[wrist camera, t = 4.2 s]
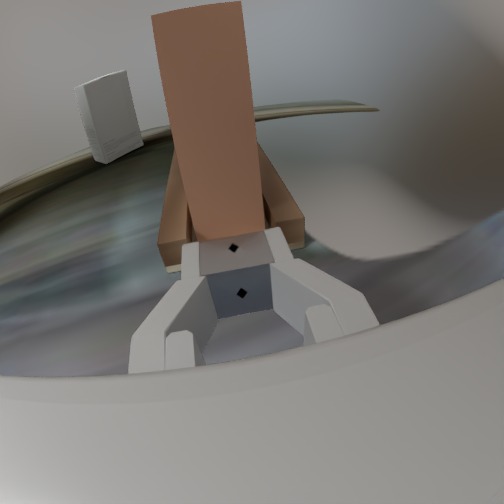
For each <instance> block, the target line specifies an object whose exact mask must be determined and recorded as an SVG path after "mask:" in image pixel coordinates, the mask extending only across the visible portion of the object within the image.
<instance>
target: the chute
mask: <svg viewBox="0 0 504 504" xmlns="http://www.w3.org/2000/svg"><path fill="white" fill-rule="evenodd" d="M257 147H258V157H259V167H260V177H261V188H262V198H263V209H264V220H265V229H270V228H275V227H280V228H281V230H282V232H283V234H284V237H285V239H286V241H287V243H288V246H289V248H290V250H294V249H300V248H304V239H305V219H304V218H305V217H304V216H303V214H302V212H301V211H300V209H299V207H298V206H297V204H296V202H295V201H294V199H293V197H292V196H291V194H290V192H289V191H288V189H287V188H286V186H285V184H284V183H283V181H282V180H281V178H280V176H279V175H278V173H277V172H276V170H275V168H274V167H273V165H272V164H271V162H270V161H269V159H268V157H267V156H266V155H265V153H264V151H263V150H262V149H261V147H260V145H259V144H258V142H257ZM192 242H197V238H196V234H195V230H194V226H193V222H192V218H191V214H190V210H189V206H188V202H187V198H186V194H185V190H184V185H183V181H182V177H181V172H180V168H179V164H178V159H177V155H176V150H175V149H174V154H173V158H172V163H171V168H170V173H169V178H168V183H167V188H166V194H165V199H164V205H163V211H162V217H161V223H160V229H159V236H158V242H157V245H158V248H159V251H160V254H161V256H162V259H163V262H164V265H165V267H166V270H167V273H171V272H177V271H181V261H182V246H183V244H187V243H192Z"/></svg>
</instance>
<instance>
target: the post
mask: <svg viewBox="0 0 504 504" xmlns="http://www.w3.org/2000/svg"><path fill="white" fill-rule="evenodd" d="M151 19H152V26H153V32H154V39H155V45H156V51H157V57H158V63H159V69H160V75H161V80H162V86H163V91H164V96H165V101H166V107H167V112H168V117H169V121H170V126H171V131H172V136H173V141H174V145H175V150H176V155H177V159H178V164H179V168H180V172H181V177H182V181H183V185H184V190H185V194H186V198H187V202H188V206H189V210H190V214H191V218H192V222H193V226H194V230H195V234H196V238H197V242H199V241H204V240H210V239H216V238H222V237H228V236H236V235H241V234H246V233H252V232H257V231H262V230H265V220H264V209H263V198H262V188H261V177H260V167H259V157H258V147H257V138H256V128H255V118H254V109H253V100H252V91H251V81H250V73H249V64H248V55H247V46H246V38H245V30H244V22H243V13H242V5H241V1H235V2H225V3H216V4H209V5H202V6H196V7H189V8H184V9H178V10H174V11H169V12H165V13H160V14H156V15H152V16H151Z"/></svg>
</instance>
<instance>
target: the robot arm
mask: <svg viewBox="0 0 504 504" xmlns="http://www.w3.org/2000/svg"><path fill="white" fill-rule="evenodd" d="M270 309H273V310H274V311H275V312H276V313H277V314H278V315H279V316H281V317H282V318H283V319H284V320H285V321H286V322H288V323H289V324H290V325H291V326H292V327H293V328H295V329H296V330H297V331H298V332H299V333H300V334H301V335H303V336H304V339H303V346H302V347H298V348H293V349H289V350H284V351H280V352H275V353H270V354H265V355H260V356H255V357H250V358H245V359H239V360H233V361H227V362H221V363H215V364H209V365H206V363H205V361H204V358H203V356H202V353H203V351H204V349H205V347H206V345H207V343H208V341H209V339H210V337H211V335H212V333H213V331H214V329H215V327H216V325H217V323H218V321H219V320H218V319H222V318H227V317H232V316H237V315H242V314H247V313H253V312H259V311H264V310H270ZM0 504H504V278H502V279H500V280H498V281H496V282H493V283H491V284H489V285H487V286H484V287H482V288H480V289H477V290H475V291H473V292H470V293H468V294H466V295H463V296H461V297H458V298H456V299H453V300H451V301H448V302H445V303H443V304H440V305H438V306H435V307H432V308H429V309H427V310H424V311H421V312H418V313H416V314H413V315H410V316H407V317H404V318H401V319H398V320H395V321H392V322H389V323H385V324H382V325H380V324H379V322H378V320H377V318H376V317H375V315H374V313H373V311H372V309H371V308H370V306H369V304H368V302H367V300H366V299H365V297H364V295H363V293H361V292H359V291H357V290H356V289H354V288H352V287H350V286H349V285H347V284H345V283H343V282H341V281H340V280H338V279H336V278H334V277H332V276H331V275H329V274H327V273H325V272H323V271H322V270H320V269H318V268H316V267H314V266H312V265H311V264H309V263H307V262H305V261H303V260H301V259H300V258H298V259H294V257H293V255H292V252H291V250H290V248H289V246H288V243H287V241H286V239H285V237H284V234H283V232H282V230H281V228H280V227H275V228H270V229H265V230H262V231H257V232H252V233H246V234H241V235H236V236H228V237H222V238H216V239H210V240H204V241H199V242H192V243H187V244H183V246H182V261H181V280H178V281H176V282H175V283H174V284H173V286H172V287H171V288H170V289H169V291H168V292H167V293H166V294H165V295H164V297H163V298H162V299H161V300H160V302H159V303H158V304H157V305H156V307H155V308H154V309H153V310H152V312H151V313H150V314H149V315H148V317H147V318H146V319H145V320H144V322H143V323H142V324H141V325H140V327H139V328H138V329H137V330H136V332H135V333H134V334H133V335H132V339H131V348H130V358H129V370H128V374H117V375H100V376H71V377H39V376H11V375H0Z"/></svg>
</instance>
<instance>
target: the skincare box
mask: <svg viewBox="0 0 504 504" xmlns="http://www.w3.org/2000/svg"><path fill="white" fill-rule="evenodd" d="M74 93H75V97H76V100H77V104H78V108H79V111H80V115H81V118H82V122H83V125H84V128H85V132H86V135H87V138H88V141H89V144H90V147H91V150H92V153H93V156H94V159H95V161H98V162H101V163H104V164H108V163H110V162H112V161H113V160H115V159H117V158H119V157H121V156H123V155H125V154H127V153H129V152H130V151H132V150H135V149H137V148H139V147H141V146H143V141H142V137H141V133H140V129H139V125H138V121H137V117H136V113H135V109H134V105H133V101H132V96H131V91H130V87H129V82H128V78H127V72H126V70H122V71H118V72H114V73H111V74H108V75H105V76H102V77H99V78H96V79H94V80H91V81H89V82H87V83H84V84H82V85H80V86H77V87H75V88H74Z"/></svg>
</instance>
